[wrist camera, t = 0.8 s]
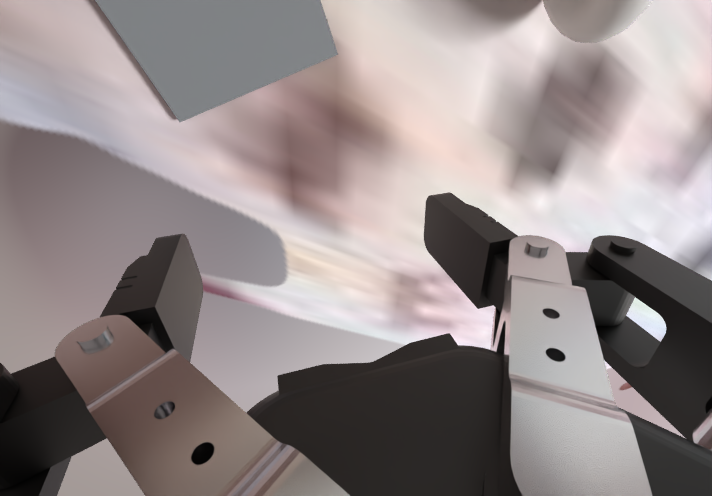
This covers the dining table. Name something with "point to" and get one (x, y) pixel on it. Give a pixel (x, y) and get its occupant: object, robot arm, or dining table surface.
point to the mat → (219, 45)
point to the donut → (593, 17)
